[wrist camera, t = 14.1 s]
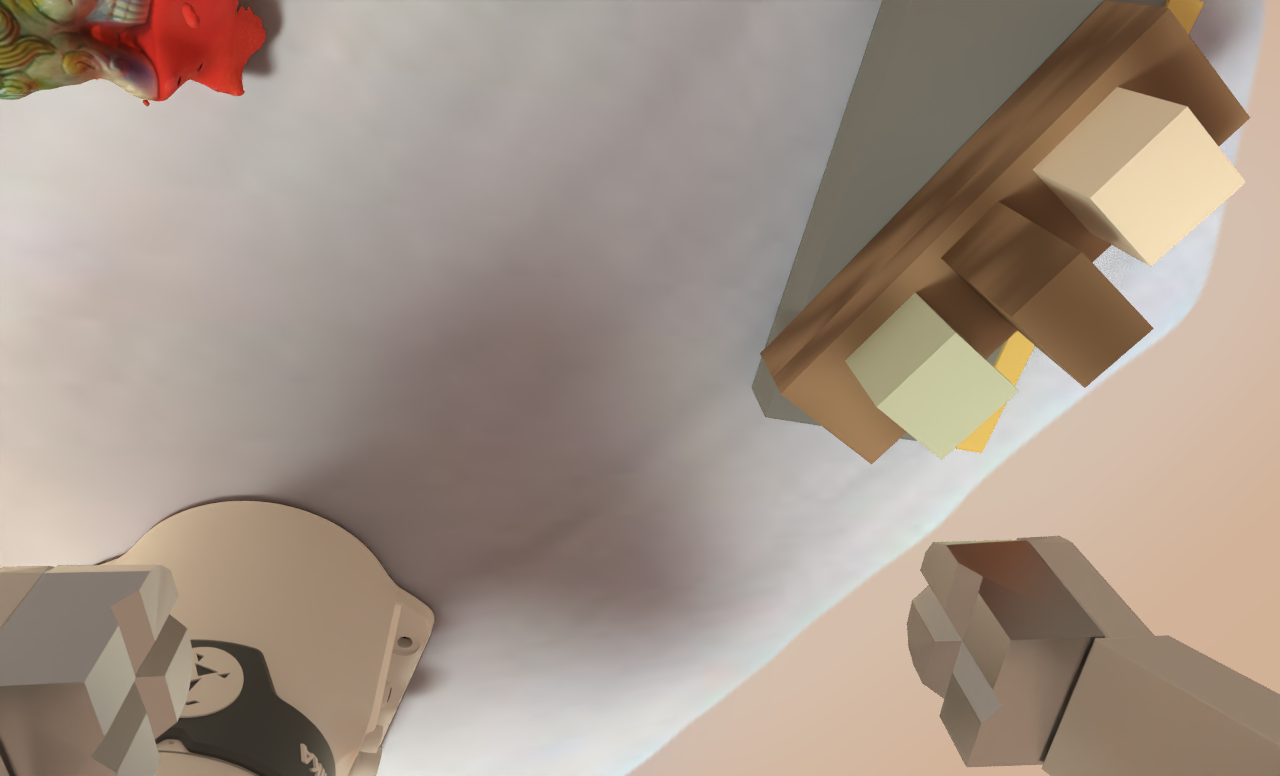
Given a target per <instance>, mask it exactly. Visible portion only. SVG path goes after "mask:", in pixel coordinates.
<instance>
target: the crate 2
mask: <svg viewBox="0 0 1280 776" xmlns="http://www.w3.org/2000/svg"><path fill="white" fill-rule="evenodd" d="M1033 171H1034V172H1035V173H1036V174H1037V175H1038V176H1039V177H1040V178H1041V179H1042V181H1043V182H1044V183H1045V184H1046V185H1047V186H1048V187H1049V188H1050V189H1051V190H1052V191H1053V193H1054V194H1055V195H1056V196H1057V197H1058V198H1059V199H1060V200H1061V201H1062V202H1063V204H1064V205H1065V206H1066V207H1067V208H1068V209H1069V210H1070V211H1071V212H1072V213H1073V215H1074V216H1075V217H1076V218H1077V219H1078V220H1079V221H1080V222H1081V223H1082V224H1083V225H1084V227H1085V228H1086V229H1087V230H1088V231H1089V232H1090V233H1092V234H1094V235H1095V236H1097V237H1099V238H1101V239H1102V240H1104V241H1106V242H1108V243H1110V244H1111V245H1113V246H1115V247H1117V248H1119V249H1120V250H1122V251H1124V252H1126V253H1127V254H1129V255H1131V256H1133V257H1135V258H1136V259H1138V260H1140V261H1142V262H1144V263H1145V264H1147V265H1149V266H1152V265H1153V264H1155V263H1156V262H1157V261H1158V260H1159V259H1160V258H1161V257H1162V256H1164V255H1165V254H1166V253H1167V252H1168V251H1169V250H1170V249H1171V248H1173V247H1174V246H1175V245H1176V244H1177V243H1178V242H1179V241H1181V240H1182V239H1183V238H1184V237H1185V236H1186V235H1187V234H1188V233H1190V232H1191V231H1192V230H1193V229H1194V228H1195V227H1196V226H1197V225H1199V224H1200V223H1201V222H1202V221H1203V220H1204V219H1205V218H1206V217H1208V216H1209V215H1210V214H1211V213H1212V212H1213V211H1214V210H1215V209H1217V208H1218V207H1219V206H1220V205H1221V204H1222V203H1223V202H1224V201H1226V200H1227V199H1228V198H1229V197H1230V196H1231V195H1232V194H1233V193H1235V192H1236V191H1237V190H1238V189H1239V188H1240V187H1241V186H1242V185H1244V183H1246V182H1245V180H1244V179H1243V178H1242V176H1241V175H1240V174H1239V173H1238V171H1237V170H1236V169H1235V167H1234V166H1233V165H1232V163H1231V162H1230V161H1229V160H1228V158H1227V157H1226V156H1225V154H1224V153H1223V152H1222V151H1221V149H1220V148H1219V147H1218V145H1217V144H1216V143H1215V141H1214V140H1213V139H1212V138H1211V136H1210V135H1209V134H1208V132H1207V131H1206V130H1205V128H1204V127H1203V126H1202V125H1201V123H1200V122H1199V121H1198V119H1197V118H1196V117H1195V116H1194V114H1193V113H1192V112H1191V110H1190V109H1189V108H1188V106H1184V105H1180V104H1177V103H1173V102H1170V101H1166V100H1162V99H1159V98H1155V97H1152V96H1148V95H1144V94H1141V93H1137V92H1134V91H1130V90H1126V89H1123V88H1119V87H1117V88H1116V89H1114V90H1113V91H1112V92H1111V93H1110V94H1109V95H1108V96H1107V97H1106V98H1105V99H1104V100H1103V101H1102V102H1101V103H1100V104H1099V105H1098V106H1097V107H1096V108H1095V109H1094V110H1093V111H1092V112H1091V113H1090V114H1089V115H1088V116H1087V117H1086V118H1085V119H1084V120H1083V121H1082V122H1081V123H1080V124H1079V125H1078V126H1077V127H1076V128H1075V129H1074V130H1073V131H1072V132H1071V133H1070V134H1068V135H1067V136H1066V137H1065V138H1064V139H1063V140H1062V141H1061V142H1060V143H1059V144H1058V145H1057V146H1056V147H1055V148H1054V149H1053V150H1052V151H1051V152H1050V153H1049V154H1048V155H1047V156H1046V157H1045V158H1044V159H1043V160H1042V161H1041V162H1040V163H1039V164H1038V165H1037V166H1036V167H1035V168H1034V169H1033Z"/></svg>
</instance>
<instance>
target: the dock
mask: <svg viewBox="0 0 1280 776" xmlns="http://www.w3.org/2000/svg"><path fill="white" fill-rule="evenodd" d="M1104 1H1105V0H883V1H882V4H881V7H880V10H879V13H878V15H877V18H876V21H875V24H874V27H873V30H872V33H871V36H870V39H869V42H868V45H867V48H866V51H865V54H864V57H863V60H862V63H861V66H860V69H859V72H858V75H857V78H856V81H855V84H854V87H853V89H852V92H851V95H850V98H849V101H848V104H847V107H846V110H845V113H844V116H843V119H842V122H841V125H840V128H839V131H838V134H837V137H836V140H835V143H834V146H833V149H832V152H831V155H830V158H829V160H828V163H827V166H826V169H825V172H824V175H823V178H822V181H821V184H820V187H819V190H818V193H817V196H816V199H815V202H814V205H813V208H812V211H811V214H810V217H809V220H808V223H807V226H806V229H805V232H804V234H803V237H802V240H801V243H800V246H799V249H798V252H797V255H796V258H795V261H794V264H793V267H792V270H791V273H790V276H789V279H788V282H787V285H786V288H785V291H784V294H783V297H782V300H781V303H780V306H779V308H778V311H777V314H776V317H775V320H774V323H773V326H772V329H771V332H770V335H769V338H768V341H767V344H766V347H767V346H768V345H769V344H770V343H771V342H772V341H773V340H774V339H775V338H776V337H777V336H778V335H779V334H780V333H781V332H782V331H783V330H784V329H785V328H786V327H787V326H788V325H789V324H790V323H791V322H792V321H793V320H794V319H795V318H796V316H797V315H798V314H799V313H800V312H801V311H802V310H803V309H804V308H805V307H806V306H807V305H808V304H809V303H810V302H811V301H812V300H813V299H814V298H815V297H816V296H817V295H818V294H819V293H820V292H821V291H822V290H823V289H824V288H825V287H826V286H827V285H828V284H829V283H830V282H831V281H832V280H833V279H834V278H835V277H836V276H837V274H838V273H839V272H840V271H841V270H842V269H843V268H844V267H845V266H846V265H847V264H848V263H849V262H850V261H851V260H852V259H853V258H854V257H855V256H856V255H857V254H858V253H859V252H860V251H861V250H862V249H863V248H864V247H865V246H866V245H867V244H868V243H869V242H870V241H871V240H872V239H873V238H874V237H875V236H876V235H877V234H878V232H879V231H880V230H881V229H882V228H883V227H884V226H885V225H886V224H887V223H888V222H889V221H890V220H891V219H892V218H893V217H894V216H895V215H896V214H897V213H898V212H899V211H900V210H901V209H902V208H903V207H904V206H905V205H906V204H907V203H908V202H909V201H910V200H911V199H912V198H913V197H914V196H915V195H916V194H917V193H918V192H919V190H920V189H921V188H922V187H923V186H924V185H925V184H926V183H927V182H928V181H929V180H930V179H931V178H932V177H933V176H934V175H935V174H936V173H937V172H938V171H939V170H940V169H941V168H942V167H943V166H944V165H945V164H946V163H947V162H948V161H949V160H950V159H951V158H952V157H953V156H954V155H955V154H956V153H957V152H958V151H959V150H960V148H961V147H962V146H963V145H964V144H965V143H966V142H967V141H968V140H969V139H970V138H971V137H972V136H973V135H974V134H975V133H976V132H977V131H978V130H979V129H980V128H981V127H982V126H983V125H984V124H985V123H986V122H987V121H988V120H989V119H990V118H991V117H992V116H993V115H994V114H995V113H996V112H997V111H998V110H999V109H1000V108H1001V106H1002V105H1003V104H1004V103H1005V102H1006V101H1007V100H1008V99H1009V98H1010V97H1011V96H1012V95H1013V94H1014V93H1015V92H1016V91H1017V90H1018V89H1019V88H1020V87H1021V86H1022V85H1023V84H1024V83H1025V82H1026V81H1027V80H1028V79H1029V78H1030V77H1031V76H1032V75H1033V74H1034V73H1035V72H1036V71H1037V70H1038V69H1039V68H1040V67H1041V65H1042V64H1043V63H1044V62H1045V61H1046V60H1047V59H1048V58H1049V57H1050V56H1051V55H1052V54H1053V53H1054V52H1055V51H1056V50H1057V49H1058V48H1059V47H1060V46H1061V45H1062V44H1063V43H1064V42H1065V41H1066V40H1067V39H1068V38H1069V37H1070V36H1071V35H1072V34H1073V33H1074V32H1075V31H1076V30H1077V29H1078V28H1079V27H1080V26H1081V25H1082V23H1083V22H1084V21H1085V20H1086V19H1087V18H1088V17H1089V16H1090V15H1091V14H1092V13H1093V12H1094V11H1095V10H1096V9H1097V8H1098V7H1099V6H1100V5H1101V4H1102V3H1103V2H1104ZM1108 1H1116V2H1124V3H1132V4H1140V5H1148V6H1155V7H1163V8H1169V9H1170V10H1171V12H1172V13H1173V14H1174V16H1175V17H1176V18H1177V20H1178V21H1179V22H1180V24H1181V25H1182V26H1183V28H1184V29H1185V30H1186V32H1187V33H1188V35H1189V33H1190V31H1191V29H1192V27H1193V25H1194V23H1195V21H1196V19H1197V17H1198V15H1199V13H1200V11H1201V9H1202V7H1203V5H1204V3H1205V2H1201V1H1198V0H1108ZM766 347H765V348H766ZM1034 347H1035V345H1034V344H1033V343H1032V342H1030V341H1029V340H1028V339H1027V338H1026V337H1025V336H1023V335H1022V334H1021V333H1020V332H1019V331H1017V332H1016V333H1014V334H1013V335H1012V336H1011V337H1010V338H1009V339H1008V340H1007V341H1006V342H1005V343H1004V344H1002V345H1001V346H1000V347H999V348H998V349H997V350H996V351H995V352H994V353H993V354H992V355H990V356H989V357H988V358H987V360H988V361H989V362H990V363H991V364H992V365H993V366H994V367H995V368H996V369H997V370H998V371H999V372H1000V373H1001V374H1002V375H1003V376H1005V377H1006V378H1007V379H1008V380H1009V381H1010V382H1011V383H1012V384H1013V385H1014V386H1015V385H1016V383H1017V381H1018V379H1019V377H1020V375H1021V373H1022V371H1023V369H1024V367H1025V365H1026V363H1027V361H1028V359H1029V357H1030V355H1031V353H1032V351H1033V349H1034ZM752 390H753V392H754V394H755V396H756V398H757V400H758V402H759V405H760V407H761V409H762V411H763V413H764V415H765V417H769V418H775V419H781V420H788V421H794V422H800V423H807V424H813V425H819V426H822V425H820V424H819V423H818V422H816V421H815V420H814V419H812V418H811V417H810V416H809V415H807V414H806V413H805V412H803V411H802V410H801V409H800V408H798V407H797V406H796V405H794V404H793V403H792V402H791V401H789V400H788V399H787V398H785V397H784V396H783V395H782V394H781V393H780V391H779V389H778V387H777V385H776V383H775V381H774V379H773V377H772V375H771V373H770V372H769V370H768V368H767V366H766V364H765V362H764V360H763V358H762V359H761V362H760V365H759V368H758V371H757V374H756V377H755V380H754V382H753V385H752ZM1006 403H1007V402H1006ZM1006 403H1005V404H1004V405H1003V406H1002V407H1001V408H999V409H998V410H997V411H996V412H995V413H994V414H993V415H992V416H990V417H989V418H988V419H987V420H986V421H985V422H984V423H983V424H981V425H980V426H979V427H978V428H977V429H976V430H975V431H973V432H972V433H971V434H970V435H969V436H968V437H967V438H966V439H964V440H963V441H962V442H961V443H960V444H959V445H958V446H957V447H955V448H956V449H960V450H966V451H972V452H979V453H982V452H983V450H984V448H985V446H986V444H987V442H988V440H989V438H990V436H991V434H992V432H993V430H994V428H995V426H996V423H997V421H998V419H999V417H1000V415H1001V413H1002V411H1003V409H1004V407H1005V405H1006ZM901 439H908V440H914V441H917V440H916V439H915V438H914V437H913V436H911V435H910V434H909V433H908V432H906V433H905V434H904V435H903V436H902V437H901Z"/></svg>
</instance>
